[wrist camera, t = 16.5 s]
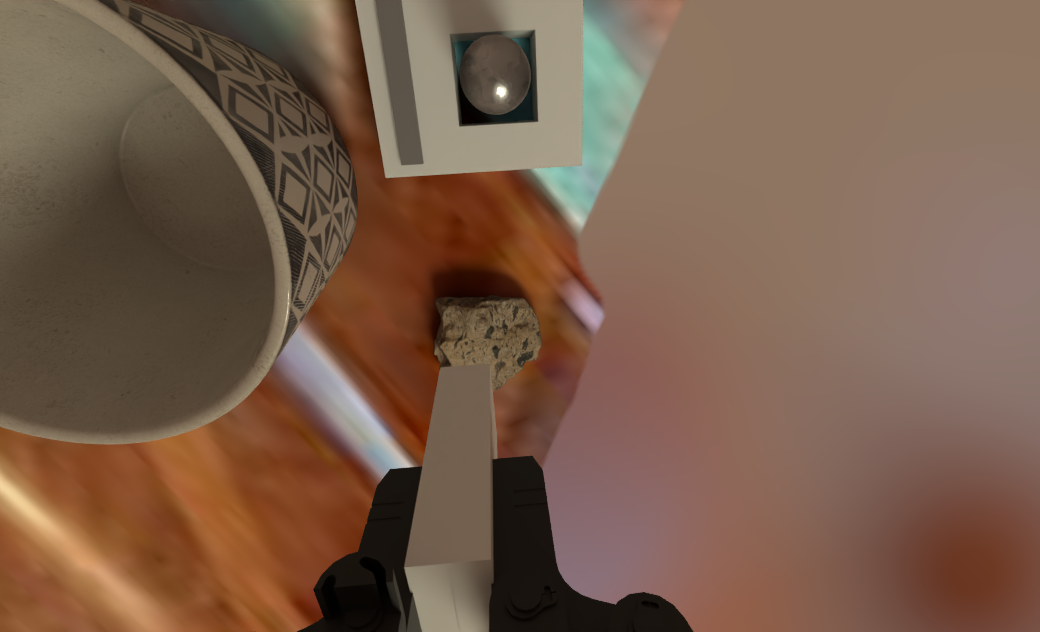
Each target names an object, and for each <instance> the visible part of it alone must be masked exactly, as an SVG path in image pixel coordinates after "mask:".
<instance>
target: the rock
mask: <svg viewBox="0 0 1040 632" xmlns="http://www.w3.org/2000/svg"><path fill="white" fill-rule="evenodd" d="M435 304H436V307H437V309H438V311H439V313H440V316H441V324H440V326H439V329H438V333H437V337H436V339H435V342H434V345H435V349H434V355H437V357H438V360H439V361H440V367H453V366H466V365H479V364H490V370H491V380H492V390H498V388H500V387H501V386H503V385H504V384H505V383H506V381H507V380H508V379H509V378H513V377H514V375H515V374H517V373H518V372H519V371H521V370H522V369H523V366H524V364H525V362H526V361H532V360H535V359H537V357H538V351H539V349H540V348H541V346H542V338H541V335H540V328H539V322H538V318H537V316H536V315H535V314H534V312H533V309H532V307H531V306H530V305H529V304H528V303H527V301H526V300H525V299H523V298H516V297H514V298H510V297H508V298H504V297H500V296H494V295H489V296H487V297H464V298H456V297H442V298H437V299H436V301H435ZM439 371H440V368H439Z"/></svg>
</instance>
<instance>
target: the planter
mask: <svg viewBox="0 0 1040 632" xmlns="http://www.w3.org/2000/svg"><path fill="white" fill-rule="evenodd" d="M356 219H357V187H356V180H355V175H354V171H353V167H352V163H351V160H350V157H349V154H348V152H347V149H346V146H345V144H344V142H343V140H342V138H341V136H340V134H339V132H338V130H337V128H336V126H335V125H334V123H333V122H332V120H331V118H330V117H329V115H328V114H327V113H326V111H325V110H324V108H323V107H322V106H321V104H320V103H319V102H318V101H317V100H316V98H315V97H314V96H313V95H312V94H311V93H310V92H309V91H308V90H307V88H306V87H305V86H304V85H303V84H302V83H301V82H299V81H298V80H297V79H296V78H295V77H294V76H293V75H292V74H290V73H289V72H288V71H287V70H285V69H284V68H283V67H282V66H280V65H279V64H277V63H276V62H274V61H273V60H272V59H270V58H268V57H267V56H265V55H263V54H262V53H260V52H258V51H256V50H254V49H252V48H251V47H249V46H246V45H244V44H242V43H239V42H237V41H235V40H232V39H230V38H227V37H224V36H222V35H219V34H216V33H214V32H211V31H209V30H206V29H203V28H201V27H198V26H195V25H193V24H190V23H188V22H185V21H182V20H180V19H177V18H174V17H172V16H169V15H167V14H164V13H161V12H159V11H156V10H153V9H151V8H148V7H146V6H143V5H140V4H138V3H135V2H132V1H130V0H0V427H2V428H6V429H9V430H13V431H16V432H20V433H24V434H29V435H33V436H37V437H42V438H48V439H53V440H59V441H67V442H74V443H87V444H129V443H140V442H147V441H153V440H159V439H164V438H168V437H172V436H176V435H179V434H183V433H186V432H189V431H192V430H194V429H197V428H199V427H202V426H204V425H206V424H208V423H210V422H212V421H214V420H216V419H218V418H219V417H221V416H223V415H224V414H226V413H227V412H229V411H230V410H232V409H233V408H234V407H236V406H237V405H238V404H240V403H241V402H242V401H243V400H244V399H245V398H246V397H247V396H248V395H250V394H251V392H252V391H253V390H254V389H255V388H256V387H257V386H258V385H259V384H260V382H261V381H262V379H263V378H264V377H265V375H266V374H267V373H268V371H269V370H270V368H271V367H272V365H273V364H274V362H275V361H276V359H277V358H278V356H279V355H280V353H281V352H282V350H283V349H284V347H285V346H286V344H287V343H288V341H289V340H290V338H291V336H292V335H293V333H294V332H295V330H296V329H297V327H298V326H299V324H300V323H301V321H302V320H303V318H304V317H305V315H306V314H307V312H308V311H309V309H310V308H311V306H312V305H313V303H314V302H315V300H316V299H317V297H318V296H319V294H320V293H321V291H322V290H323V288H324V287H325V285H326V284H327V282H328V281H329V279H330V278H331V276H332V275H333V273H334V272H335V270H336V269H337V267H338V266H339V264H340V262H341V261H342V259H343V257H344V256H345V254H346V252H347V250H348V248H349V245H350V243H351V240H352V237H353V233H354V230H355V225H356Z"/></svg>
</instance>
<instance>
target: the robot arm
mask: <svg viewBox="0 0 1040 632" xmlns="http://www.w3.org/2000/svg"><path fill="white" fill-rule="evenodd" d="M313 590H314V592H315V595H316V598H317V600H318V603H319V606H320V608H321V611H322V613H323V616H324V617H323V618H322V619H320V620H319V621H318V622H316V623H314V624H312V625H310V626H308V627H306V628H304V629H302V630H299V631H297V632H693V630H692V629H691V627H690V626H689V624H688V622H687V621H686V619H685V618H684V617H683V615H682V614H681V613H680V612H679V611H678V610H677V609H676V607H675V606H674V605H673V604H671V603H670V602H668V601H666V600H665V599H663V598H662V597H660V596H657V595H653V594H649V593H645V592H642V593H635V594H629V595H627V596H626V597H625V598H623V599H621V600H620V601H618V602H617V604H616V605H615V604H610V603H607V602H603V601H598V600H594V599H591V598H589V597H586V596H583V595H581V594H579V593H578V592H576V591H575V590H573V589H572V588H571V587H570V586H569V585H568V584H567V583H566V582H565V581H564V579H563V578H562V576H561V574H560V572H559V570H558V567H557V563H556V557H555V551H554V544H553V537H552V530H551V523H550V516H549V510H548V504H547V496H546V490H545V482H544V476H543V470H542V469H541V467H540V466H539V464H538V463H537V462H536V460H535V459H534V458H533V456H524V457H512V458H500V459H497V433H496V423H495V412H494V401H493V391H492V380H491V370H490V364H479V365H466V366H453V367H440V372H439V378H438V384H437V389H436V395H435V400H434V406H433V411H432V417H431V422H430V428H429V433H428V439H427V444H426V450H425V455H424V461H423V466H422V467H410V468H398V469H390V470H389V471H388V473H387V474H386V475H385V476H384V478H383V479H382V480H381V482H380V483H379V484H378V485H377V488H376V491H375V495H374V498H373V502H372V508H371V509H370V512H369V516H368V519H367V524H366V526H365V529H364V533H363V536H362V540H361V543H360V547H359V550H358V552H355V553H352V554H348V555H346V556H345V557H343V558H341V559H339V560H338V561H336V562H334V563H333V564H332V565H331V566H330V567H329V568H328V569H327V570H326V571H325V572H324V573H323V574H322V575H321V577H320V578H319V580H318V582H317V584H316V586H315V587H314V589H313Z"/></svg>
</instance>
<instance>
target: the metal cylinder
mask: <svg viewBox="0 0 1040 632" xmlns="http://www.w3.org/2000/svg"><path fill="white" fill-rule="evenodd" d="M530 80H531V72H530V65H529V62H528V59H527V57H526V55H525V53H524V51H523V50H522V48H521V47H520V46H519V45H518V44H517V43H516V42H515V41H513V40H512V39H510V38H508V37H505V36H502V35H494V34H493V35H487V36H483V37H481V38H479V39H477V40H476V41H474V42H473V43H472V44H471V45H470V46H469V47H468V49H467V50H466V52H465V54H464V56H463V58H462V61H461V65H460V82H461V86H462V89H463V91H464V94H465V95H466V97H467V99H468V100H469V101H470V102H471V103H472V105H474V106H475V107H476V108H477V109H479V110H481V111H483V112H485V113H488V114H504V113H507V112H509V111H511V110H513V109H515V108H516V107H517V106H518V105H519V104H520V103H521V102H522V101H523V99H524V98H525V96H526V94H527V92H528V89H529V86H530Z"/></svg>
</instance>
